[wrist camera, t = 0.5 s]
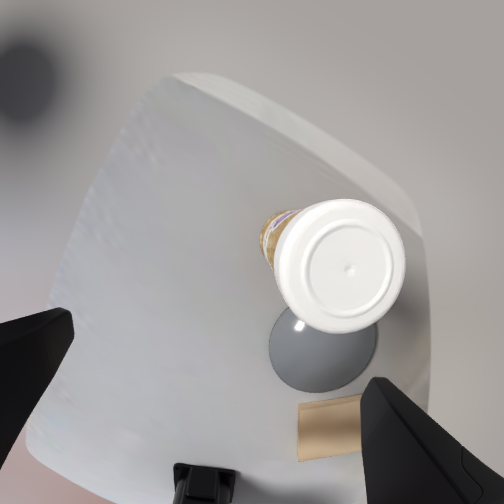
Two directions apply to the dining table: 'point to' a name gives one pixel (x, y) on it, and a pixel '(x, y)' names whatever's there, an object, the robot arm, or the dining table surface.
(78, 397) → the dining table surface
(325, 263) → the sprinkles bottle
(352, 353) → the coaster
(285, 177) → the dining table surface
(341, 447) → the tan square cloth
